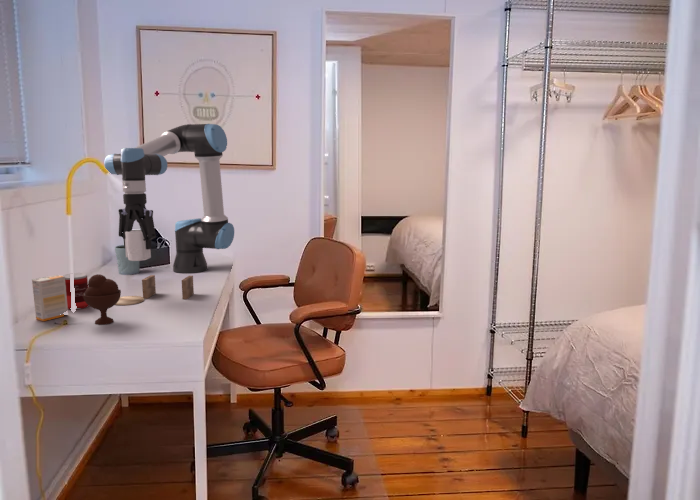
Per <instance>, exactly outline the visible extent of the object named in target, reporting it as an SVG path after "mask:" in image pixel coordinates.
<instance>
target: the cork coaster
mask: <svg viewBox="0 0 700 500" xmlns="http://www.w3.org/2000/svg"><path fill="white" fill-rule="evenodd" d="M144 301H145V299H144V298H143V296H140V295H126V296H124V295H123V296H120V299H119V301H118V302H117V303H116V304H115V305H114V306H132V305H137V304H140V303H142V302H144Z"/></svg>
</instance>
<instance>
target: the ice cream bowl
mask: <svg viewBox="0 0 700 500" xmlns="http://www.w3.org/2000/svg"><path fill="white" fill-rule="evenodd" d="M121 294H122V291H121V289H119V285H118V284H117V282H116V281H115V280H113V279H110V278H107V277H106V276H105V275H103V274H97V273H96V274H93V275H92V276H90V278H89V279H88V288H87V289H86V291H85V293H83V298H84V301H85V302H86V304H88V305H89V306H88V307H90V308H92V309H94V310H97V311H99V312H100V317H98V318H97V319H96V320H95V321H94V324H95V325H99V326H100V325H101V326H102V325H103V326H104V325H110V324H112V323H114V319H113V318H112V317H109V316H108V313H107V311H108V309H110V308H112V307H114V306H116V305H115V304H116V303H117V302H118V301H119V299H120V297H121Z"/></svg>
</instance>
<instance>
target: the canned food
mask: <svg viewBox="0 0 700 500" xmlns="http://www.w3.org/2000/svg"><path fill="white" fill-rule="evenodd" d="M70 274H71V273H67V274H64V275H62V276H64V277H65V285H66V295H67V306H68V310H71V309H70V308H71V292H70ZM88 281H89V279H88V275H87V273H81V272H76V273H75V272H74V288H75V303H76V306H77V308H81V310H82V309H86V308H88V307H90V306H89V305H88V304H86V302H85V301H84V298H83V293H85V291H86V289H87V288H88Z"/></svg>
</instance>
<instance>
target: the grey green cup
mask: <svg viewBox="0 0 700 500" xmlns="http://www.w3.org/2000/svg"><path fill="white" fill-rule="evenodd" d="M114 251H115V257H116V262H117V269H118V274H119V275H122V276H125V275H126V276H129V275H137V274H139V273H140V261H131V260H128V257H126V251H125V247H124V244H121V245H117V246H114Z"/></svg>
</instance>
